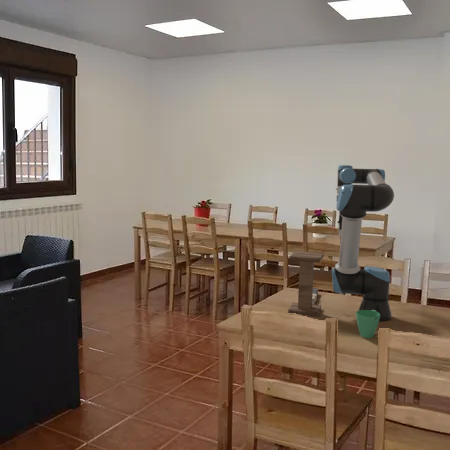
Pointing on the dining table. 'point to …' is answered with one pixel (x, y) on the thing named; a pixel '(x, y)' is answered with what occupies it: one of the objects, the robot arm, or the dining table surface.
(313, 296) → the bar
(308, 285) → the stand
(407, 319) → the dining table surface
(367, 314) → the mug
